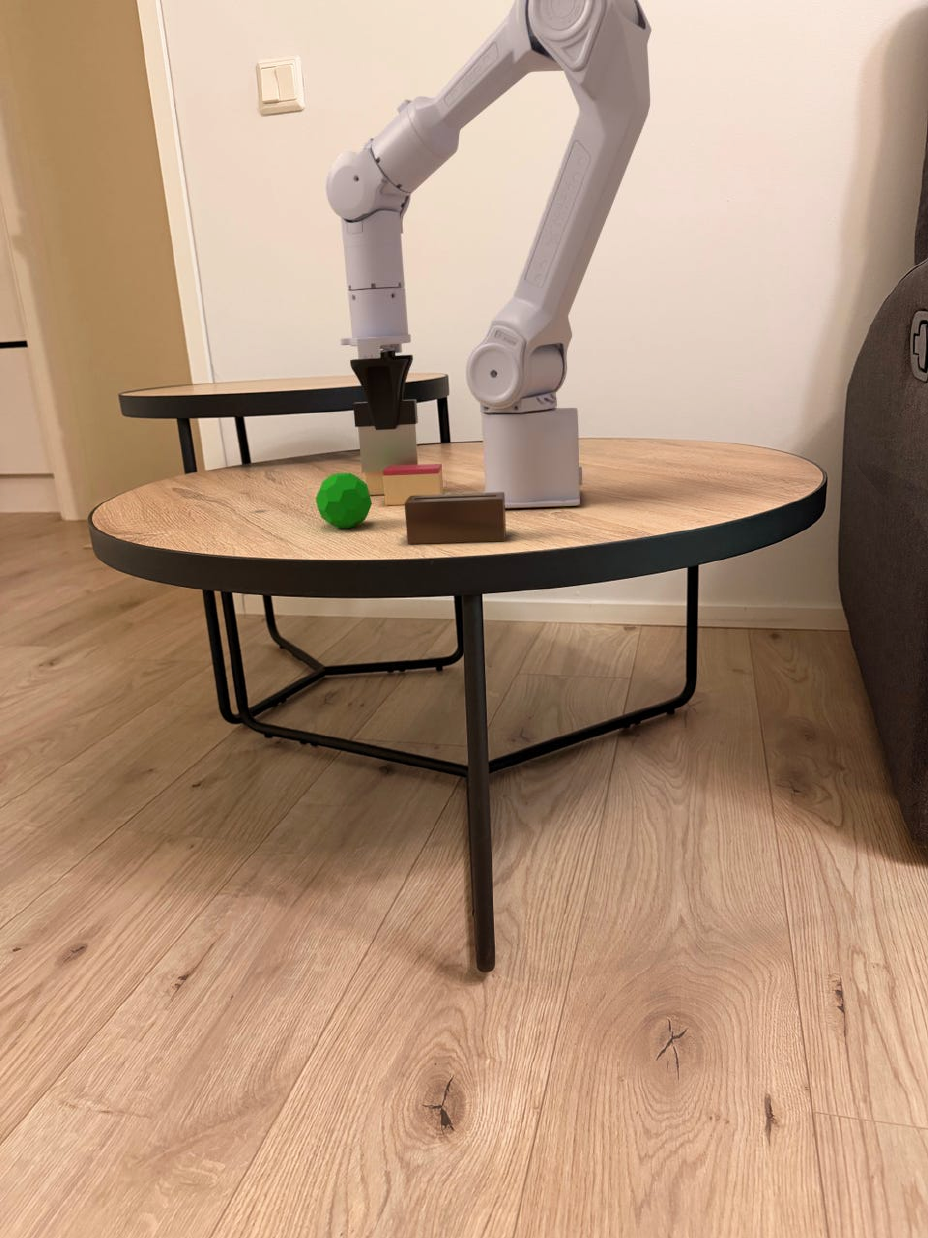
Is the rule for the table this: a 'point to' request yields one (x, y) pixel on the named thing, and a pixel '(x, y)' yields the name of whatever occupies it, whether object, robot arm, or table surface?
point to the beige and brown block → (387, 438)
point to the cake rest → (411, 482)
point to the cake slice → (375, 483)
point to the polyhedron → (343, 500)
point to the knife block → (455, 518)
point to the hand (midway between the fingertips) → (387, 428)
